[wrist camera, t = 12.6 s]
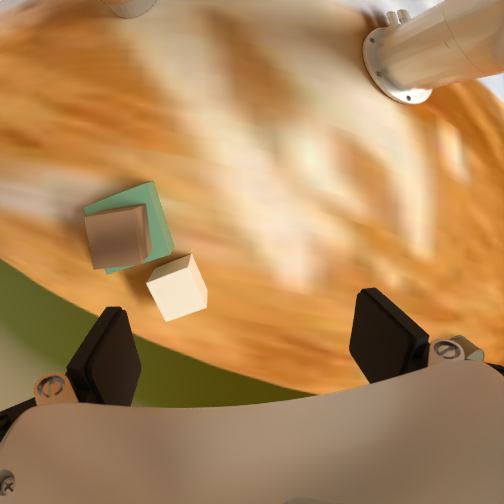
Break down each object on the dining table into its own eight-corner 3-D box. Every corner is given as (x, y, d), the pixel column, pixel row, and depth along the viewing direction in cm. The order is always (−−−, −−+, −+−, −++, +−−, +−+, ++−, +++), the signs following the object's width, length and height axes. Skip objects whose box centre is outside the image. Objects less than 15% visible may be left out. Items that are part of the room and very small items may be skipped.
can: (440, 338, 44) (461, 356, 38) (472, 330, 46) (491, 345, 39) (420, 385, 47) (436, 403, 41) (453, 373, 49) (469, 389, 43)
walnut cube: (103, 209, 27) (84, 217, 22) (145, 203, 27) (132, 209, 23) (110, 254, 28) (93, 269, 24) (152, 250, 29) (141, 264, 24)
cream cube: (154, 268, 33) (146, 283, 28) (191, 253, 33) (188, 267, 29) (171, 302, 35) (166, 321, 30) (207, 289, 35) (206, 307, 30)
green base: (96, 203, 30) (83, 207, 27) (154, 181, 31) (146, 182, 27) (117, 263, 33) (106, 274, 29) (174, 245, 33) (169, 254, 29)
